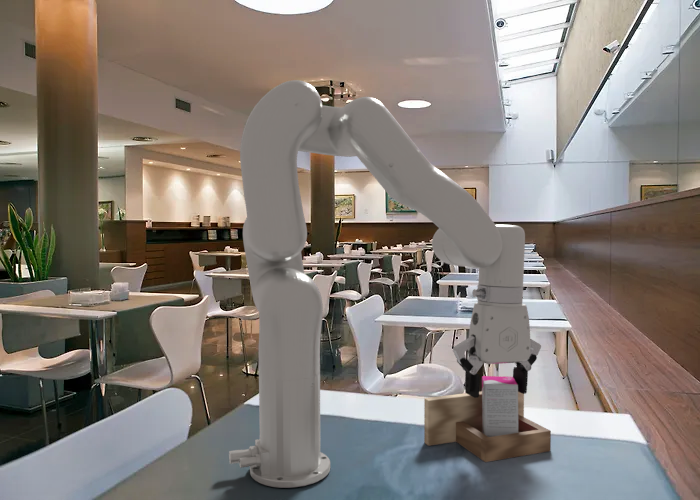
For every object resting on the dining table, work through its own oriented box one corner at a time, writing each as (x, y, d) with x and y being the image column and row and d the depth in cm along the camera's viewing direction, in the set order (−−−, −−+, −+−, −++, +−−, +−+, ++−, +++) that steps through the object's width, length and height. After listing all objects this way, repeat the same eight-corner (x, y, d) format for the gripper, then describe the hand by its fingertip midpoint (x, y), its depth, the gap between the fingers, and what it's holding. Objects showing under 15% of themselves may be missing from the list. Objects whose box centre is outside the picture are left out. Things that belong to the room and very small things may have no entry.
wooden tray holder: (455, 467, 87) (455, 417, 87) (424, 442, 97) (424, 398, 97) (557, 449, 94) (558, 403, 94) (518, 428, 104) (519, 386, 104)
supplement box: (520, 451, 93) (518, 384, 93) (484, 450, 94) (482, 384, 94) (515, 438, 99) (513, 375, 98) (481, 437, 100) (479, 375, 99)
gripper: (468, 299, 89) (464, 403, 89) (555, 297, 95) (551, 396, 95) (445, 293, 96) (441, 390, 96) (527, 293, 102) (523, 384, 102)
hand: (496, 393), depth 96 cm, fingers open, 9 cm apart
